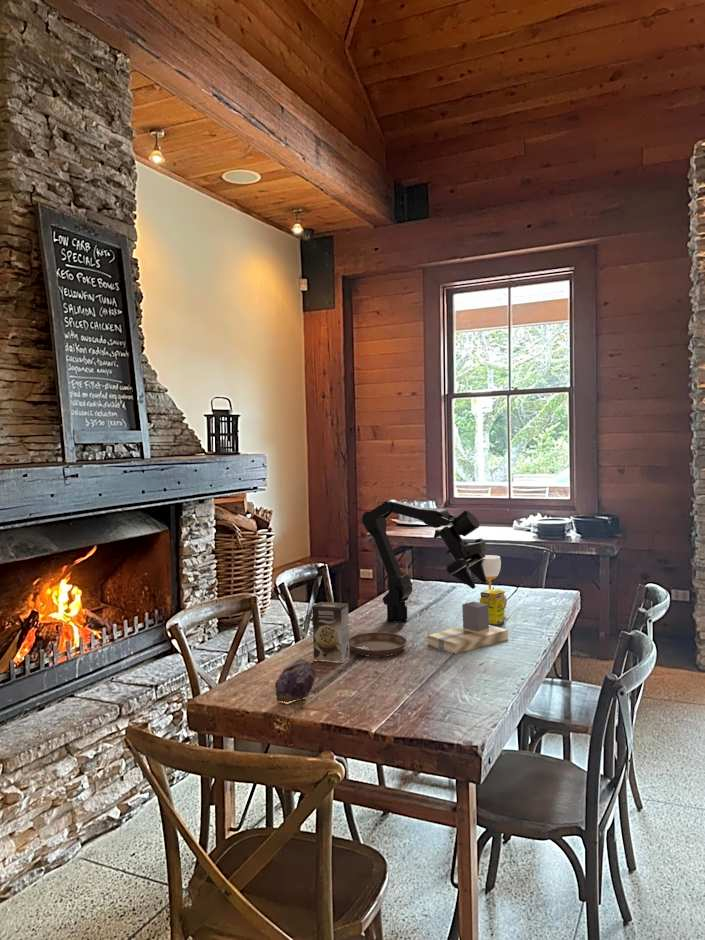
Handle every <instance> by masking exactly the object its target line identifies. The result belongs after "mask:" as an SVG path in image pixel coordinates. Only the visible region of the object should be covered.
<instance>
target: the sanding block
mask: <svg viewBox="0 0 705 940" xmlns="http://www.w3.org/2000/svg"><path fill="white" fill-rule="evenodd" d="M461 606H462V627H463V630H465V631H469V632H473V633H478V634H479V633H482V632H485V631H488V630H489V617H488V604H483V603H480V602H476V601H470V602H466V603H463V604H462V605H461Z"/></svg>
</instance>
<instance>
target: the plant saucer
mask: <svg viewBox="0 0 705 940" xmlns="http://www.w3.org/2000/svg"><path fill="white" fill-rule="evenodd" d="M407 642H408V639H407V638H406V637H405V636H402V635H400V634H397V633H391V632H379V631H378V632H375V631H374V632H364V633H360V634H356V635H354V636H351V637H349V648H351V650H352V651H353V652H354V651H355V652H354V653H356V652H357V653H359V654H358V655H360V654H363V655H369V656H368V657H370V656H382V657H388V656H387V655H389V656H392V655H391V654H394V655H396V654H398V653H400V652H401V651H402V650H403V649H404V647H405V646H406V645H407ZM363 646H365V647H368V648H369V649H373V650H367V649H361V648H357V647H363ZM357 653H356V654H357ZM395 653H396V654H395ZM363 655H362V656H363Z"/></svg>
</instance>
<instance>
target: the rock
mask: <svg viewBox="0 0 705 940" xmlns="http://www.w3.org/2000/svg"><path fill="white" fill-rule="evenodd" d="M316 675H317V673H316V671H315V669H314V668H313V666H312V664H311V663H310V662H309V661H307V660H306V659H303V658H299V659H296V660H295V661H294V662H292V663H291V664H289V665H288V666H286V667H284V669H283V670H282V672H281V673H280V675H279V676H278V678H277V679H276V682H275V685H274V686H275V694H276V701H277V702H278V701H283V702H284V701H285V702H289V701H293V700H297V699H303V698H305V697H307V698H308V695H309V693H310V692H311V691H312V688H313V686H314V683H315V679H316Z"/></svg>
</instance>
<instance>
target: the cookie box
mask: <svg viewBox="0 0 705 940" xmlns="http://www.w3.org/2000/svg"><path fill="white" fill-rule="evenodd" d="M311 608H312V610H311V611H312V640H313V641H312V644H313V660H314V659H315V660H329V661H339V662H343V661H344V660H345V659H346V658H348V657H349V656H350V645H349V639H350V633H349V631H350V630H349V626H350V625H349V603H345V602H330V601H329V602H328V601H326V602H325V601H319V602H318V603H315V604H313V605H311Z"/></svg>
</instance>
